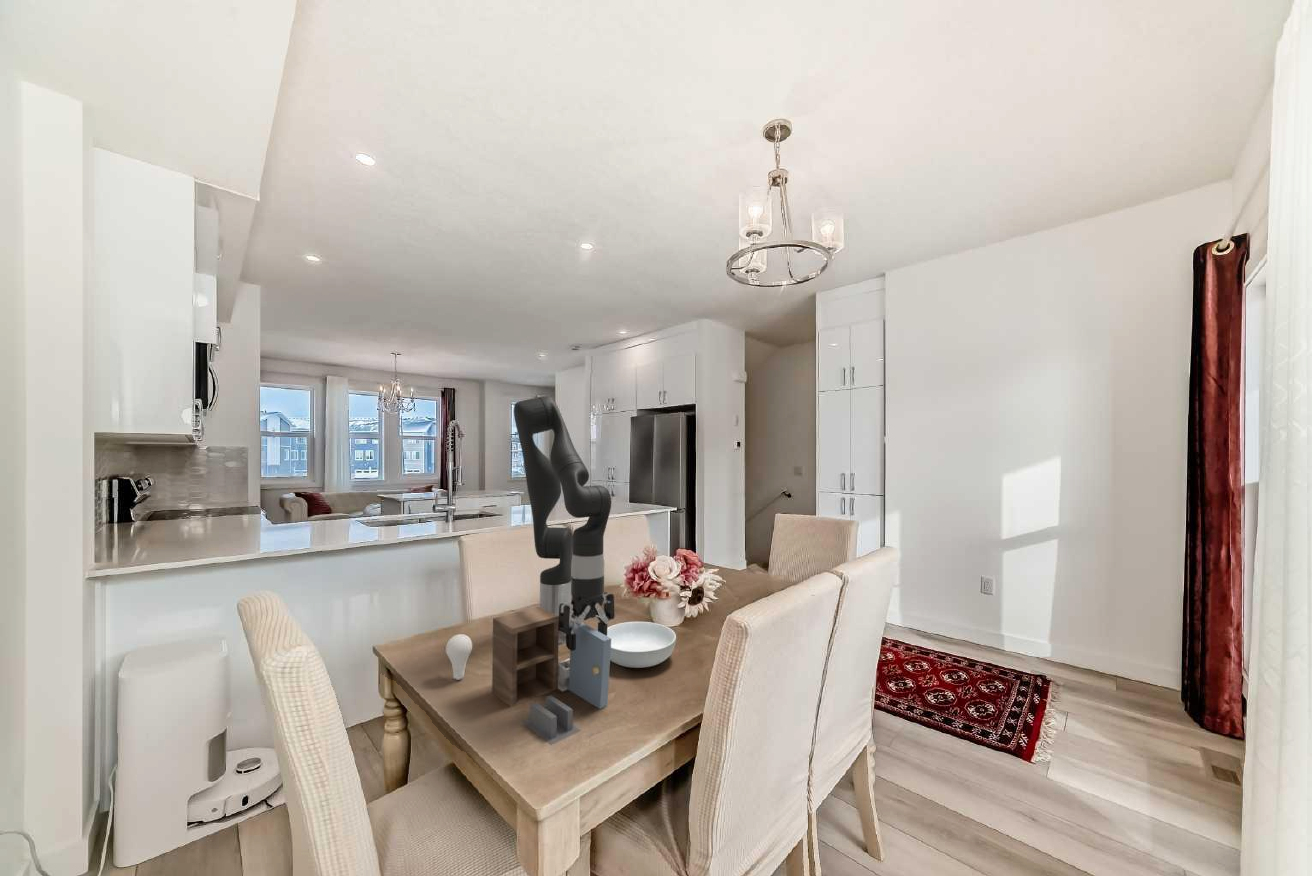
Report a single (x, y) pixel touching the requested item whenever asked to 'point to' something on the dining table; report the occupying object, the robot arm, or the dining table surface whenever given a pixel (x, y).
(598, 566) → the robot arm
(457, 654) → the lightbulb
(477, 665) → the dining table surface
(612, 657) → the serving bowl
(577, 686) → the cabinet door
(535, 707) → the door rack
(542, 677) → the cabinet
